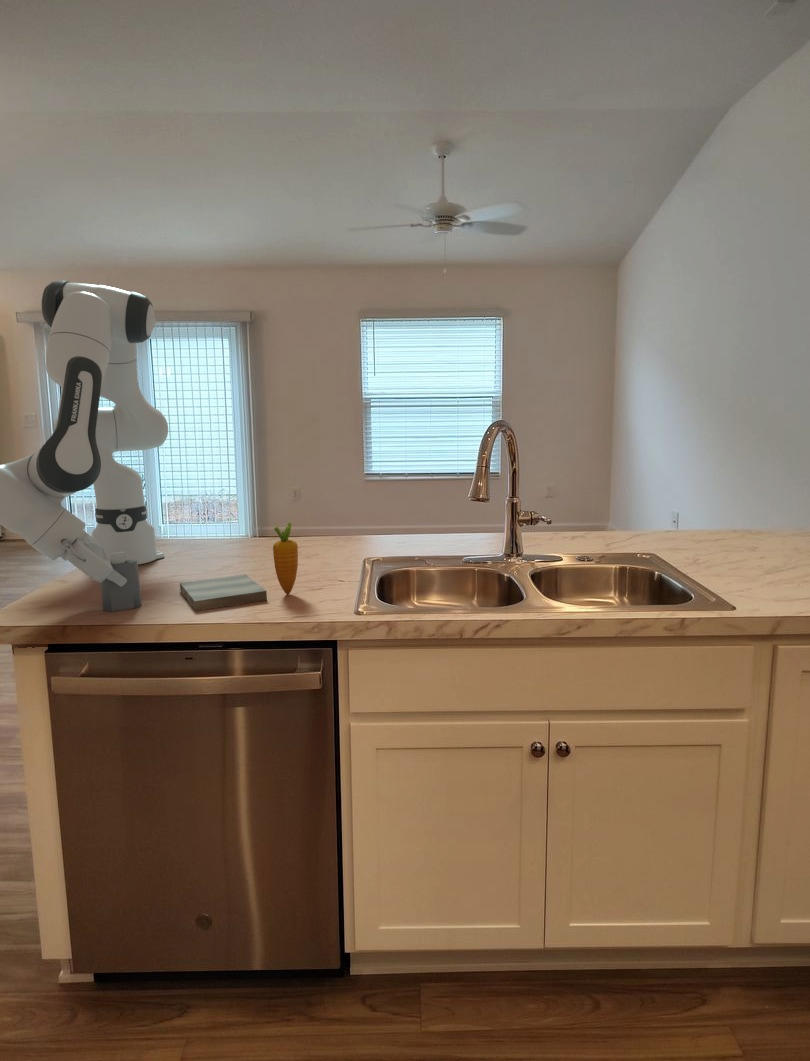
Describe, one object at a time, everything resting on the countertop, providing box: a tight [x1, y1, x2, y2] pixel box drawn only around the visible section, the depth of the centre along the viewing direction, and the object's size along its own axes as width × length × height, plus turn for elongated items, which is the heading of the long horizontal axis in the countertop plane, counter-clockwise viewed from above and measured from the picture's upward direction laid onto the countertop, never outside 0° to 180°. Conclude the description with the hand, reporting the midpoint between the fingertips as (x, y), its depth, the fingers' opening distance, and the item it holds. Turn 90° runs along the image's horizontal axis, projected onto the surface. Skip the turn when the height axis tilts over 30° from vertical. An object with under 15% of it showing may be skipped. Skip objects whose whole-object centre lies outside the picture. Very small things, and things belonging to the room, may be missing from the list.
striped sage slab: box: [179, 573, 268, 612], centre depth 138 cm, size 16×14×2 cm
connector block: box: [99, 552, 142, 612], centre depth 130 cm, size 7×3×11 cm, turn 118°
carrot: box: [272, 521, 299, 596], centre depth 137 cm, size 5×5×15 cm
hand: (123, 580), depth 130 cm, fingers closed on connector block, 3 cm apart
